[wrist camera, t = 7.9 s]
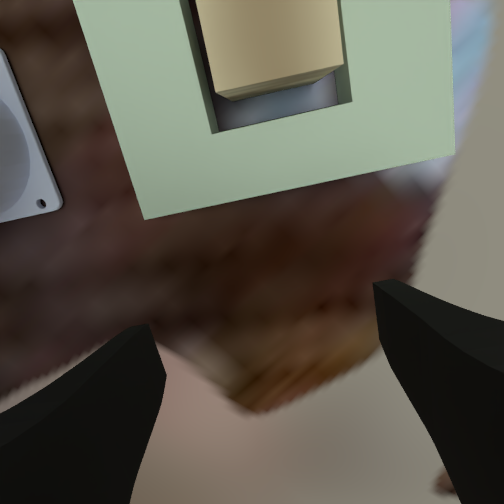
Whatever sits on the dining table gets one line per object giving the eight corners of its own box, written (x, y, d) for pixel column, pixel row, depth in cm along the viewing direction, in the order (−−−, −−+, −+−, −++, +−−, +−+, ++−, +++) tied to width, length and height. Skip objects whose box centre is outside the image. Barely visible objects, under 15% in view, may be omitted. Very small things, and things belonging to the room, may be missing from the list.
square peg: (232, 101, 18) (215, 92, 12) (213, 8, 17) (182, -62, 10) (313, 83, 18) (343, 63, 11) (300, -13, 16) (326, -100, 10)
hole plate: (161, 205, 20) (144, 220, 17) (79, -61, 16) (40, -99, 13) (426, 148, 19) (455, 154, 16) (408, -157, 15) (442, -223, 12)
